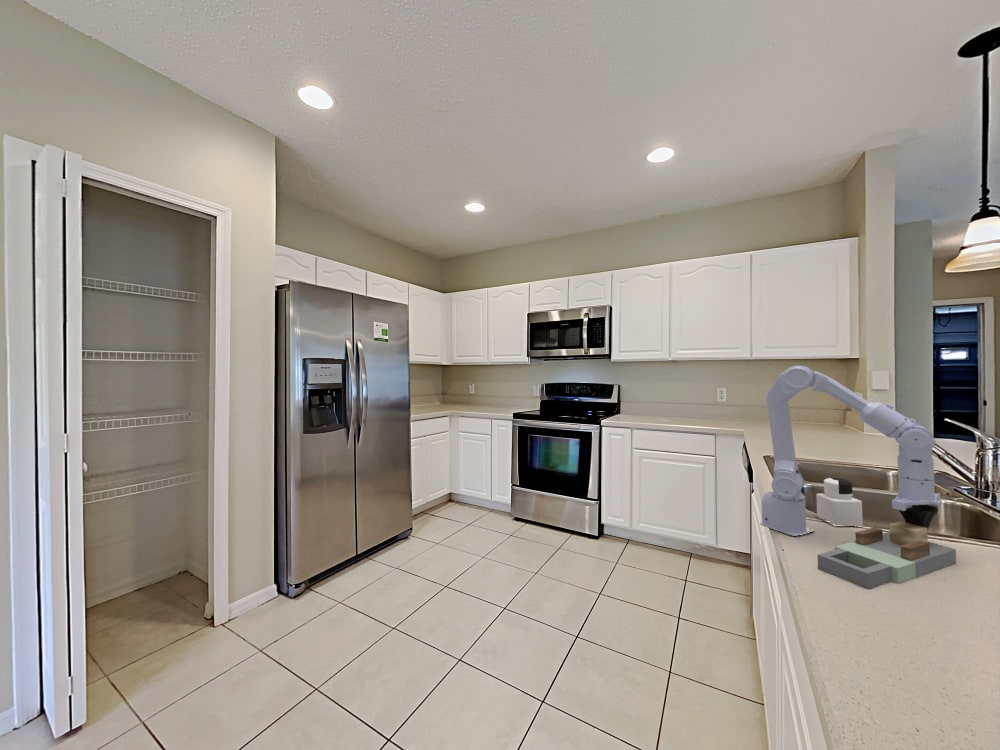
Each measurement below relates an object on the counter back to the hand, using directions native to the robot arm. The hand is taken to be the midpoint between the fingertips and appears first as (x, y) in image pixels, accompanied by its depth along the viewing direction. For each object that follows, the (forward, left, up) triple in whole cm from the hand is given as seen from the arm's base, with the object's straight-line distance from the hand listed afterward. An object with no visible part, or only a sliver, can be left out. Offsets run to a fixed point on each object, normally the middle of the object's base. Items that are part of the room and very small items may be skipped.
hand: (917, 536), depth 91 cm
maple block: (0, -4, -1) cm, 4 cm away
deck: (0, -13, -4) cm, 13 cm away
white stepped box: (-19, +5, -4) cm, 20 cm away
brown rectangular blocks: (0, -10, -1) cm, 10 cm away
